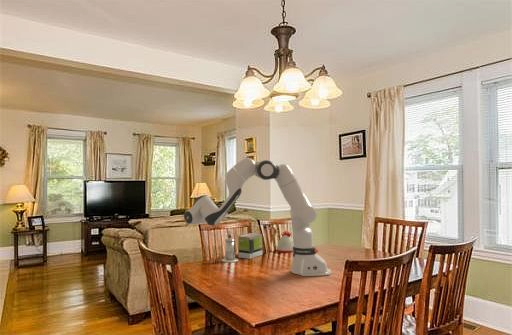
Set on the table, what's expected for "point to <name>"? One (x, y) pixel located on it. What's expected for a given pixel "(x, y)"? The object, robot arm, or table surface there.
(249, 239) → the tea box
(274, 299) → the table surface
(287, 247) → the kitchen timer
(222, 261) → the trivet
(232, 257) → the french press
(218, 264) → the table surface
